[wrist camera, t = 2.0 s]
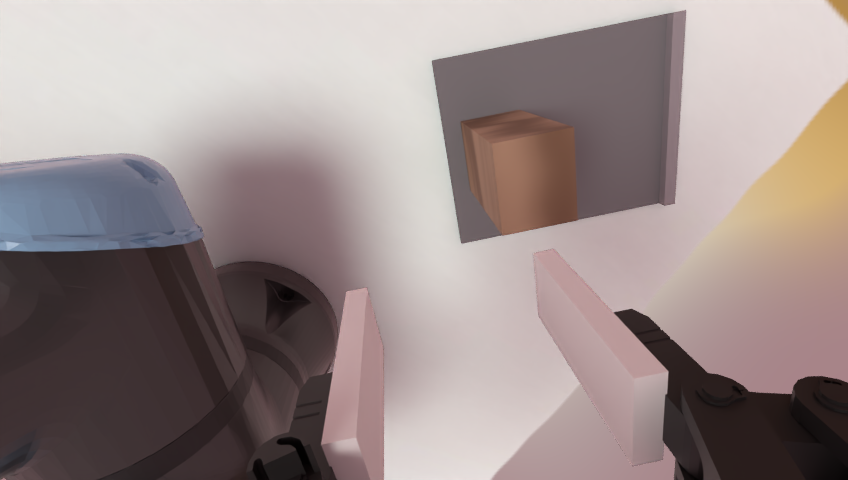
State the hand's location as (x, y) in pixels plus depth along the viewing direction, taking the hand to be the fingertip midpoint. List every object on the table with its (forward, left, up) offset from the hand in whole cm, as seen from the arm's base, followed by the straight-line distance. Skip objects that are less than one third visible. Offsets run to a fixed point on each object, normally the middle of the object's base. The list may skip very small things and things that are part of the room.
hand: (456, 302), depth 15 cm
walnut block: (+7, 0, -22) cm, 24 cm away
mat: (+13, 0, -23) cm, 26 cm away
